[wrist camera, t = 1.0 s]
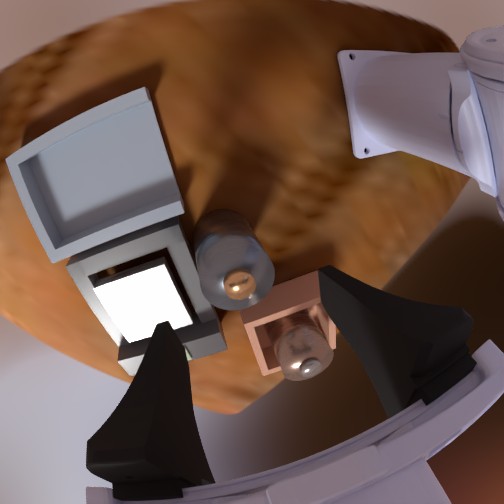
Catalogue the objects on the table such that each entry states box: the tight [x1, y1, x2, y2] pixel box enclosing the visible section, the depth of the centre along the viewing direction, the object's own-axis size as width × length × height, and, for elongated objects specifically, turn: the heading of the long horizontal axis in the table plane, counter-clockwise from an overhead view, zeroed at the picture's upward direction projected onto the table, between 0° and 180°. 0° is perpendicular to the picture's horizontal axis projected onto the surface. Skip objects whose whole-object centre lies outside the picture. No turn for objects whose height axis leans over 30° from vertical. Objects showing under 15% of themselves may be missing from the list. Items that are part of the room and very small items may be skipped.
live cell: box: [193, 209, 275, 310], centre depth 17 cm, size 4×4×6 cm
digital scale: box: [66, 216, 228, 376], centre depth 19 cm, size 10×8×3 cm
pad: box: [94, 256, 193, 342], centre depth 18 cm, size 5×5×1 cm
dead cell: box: [263, 308, 334, 381], centre depth 21 cm, size 4×4×6 cm
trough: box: [6, 87, 184, 264], centre depth 14 cm, size 10×8×2 cm
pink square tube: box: [239, 271, 336, 376], centre depth 23 cm, size 7×7×3 cm
